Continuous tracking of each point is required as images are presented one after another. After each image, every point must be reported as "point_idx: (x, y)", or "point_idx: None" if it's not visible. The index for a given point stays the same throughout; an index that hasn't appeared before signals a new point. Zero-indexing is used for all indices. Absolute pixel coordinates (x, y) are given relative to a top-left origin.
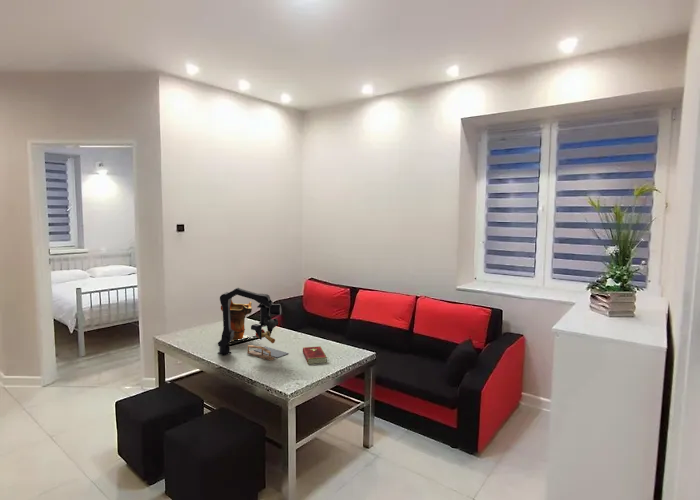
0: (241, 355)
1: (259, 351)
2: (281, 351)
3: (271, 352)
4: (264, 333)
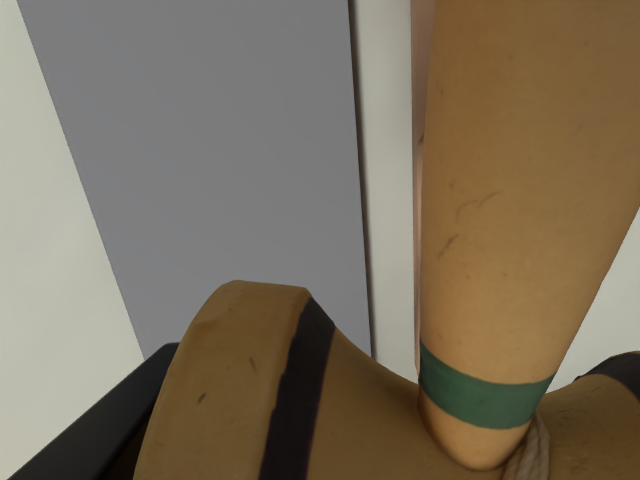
0: (604, 350)
1: (355, 293)
2: (42, 15)
3: (237, 117)
4: None
